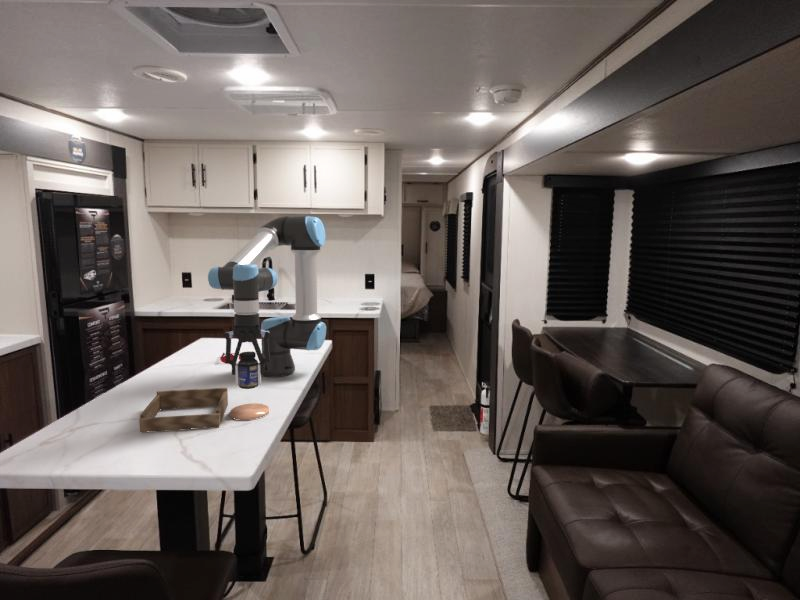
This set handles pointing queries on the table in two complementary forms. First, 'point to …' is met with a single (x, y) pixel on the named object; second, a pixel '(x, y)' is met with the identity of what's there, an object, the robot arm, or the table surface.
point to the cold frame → (184, 400)
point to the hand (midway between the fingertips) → (248, 383)
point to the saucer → (249, 411)
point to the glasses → (230, 357)
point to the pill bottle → (248, 370)
